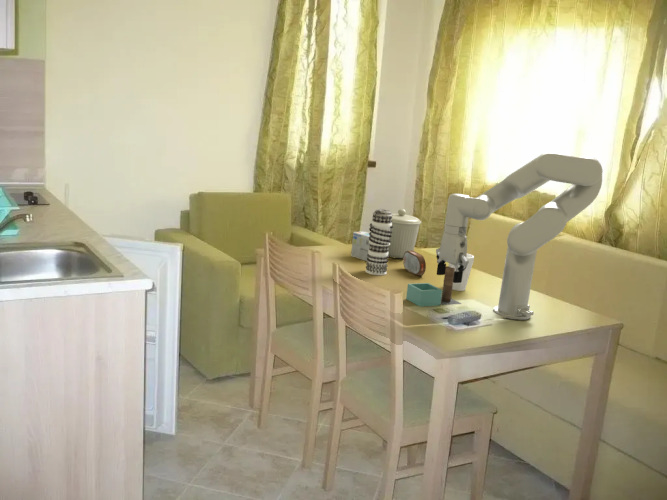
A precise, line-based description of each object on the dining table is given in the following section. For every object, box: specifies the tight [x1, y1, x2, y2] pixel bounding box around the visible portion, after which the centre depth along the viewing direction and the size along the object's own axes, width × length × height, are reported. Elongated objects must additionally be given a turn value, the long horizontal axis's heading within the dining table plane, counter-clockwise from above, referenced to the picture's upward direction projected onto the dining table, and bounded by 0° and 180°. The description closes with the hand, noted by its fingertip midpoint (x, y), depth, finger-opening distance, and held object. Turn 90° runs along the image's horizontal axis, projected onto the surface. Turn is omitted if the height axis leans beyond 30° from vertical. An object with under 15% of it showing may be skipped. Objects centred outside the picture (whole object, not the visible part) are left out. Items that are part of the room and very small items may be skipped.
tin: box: [402, 250, 427, 276], centre depth 280 cm, size 15×3×8 cm, turn 22°
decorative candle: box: [365, 208, 393, 276], centre depth 272 cm, size 9×9×25 cm
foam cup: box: [448, 253, 475, 292], centre depth 262 cm, size 10×9×13 cm
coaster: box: [440, 296, 463, 306], centre depth 243 cm, size 8×8×1 cm
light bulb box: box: [350, 231, 370, 262], centre depth 296 cm, size 11×7×11 cm, turn 43°
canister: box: [388, 208, 422, 259], centre depth 306 cm, size 18×18×21 cm
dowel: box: [441, 265, 455, 302], centre depth 241 cm, size 3×3×12 cm
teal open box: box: [405, 282, 443, 307], centre depth 238 cm, size 8×8×6 cm
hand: (448, 278), depth 241 cm, fingers open, 9 cm apart
